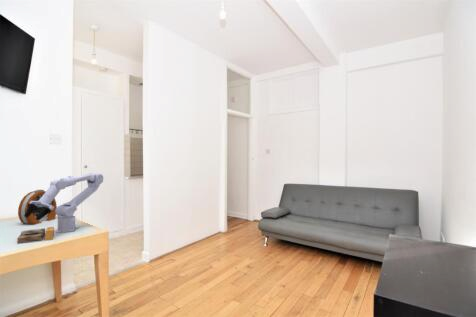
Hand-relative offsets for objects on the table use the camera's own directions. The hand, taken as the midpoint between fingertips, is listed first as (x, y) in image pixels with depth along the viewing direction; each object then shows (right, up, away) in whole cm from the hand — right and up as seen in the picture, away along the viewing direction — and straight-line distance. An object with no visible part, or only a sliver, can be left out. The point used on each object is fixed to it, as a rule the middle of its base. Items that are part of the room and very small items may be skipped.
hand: (31, 218), depth 136 cm
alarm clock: (-26, -12, +37) cm, 46 cm away
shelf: (-2, -12, +3) cm, 12 cm away
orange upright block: (+8, -12, +3) cm, 15 cm away
